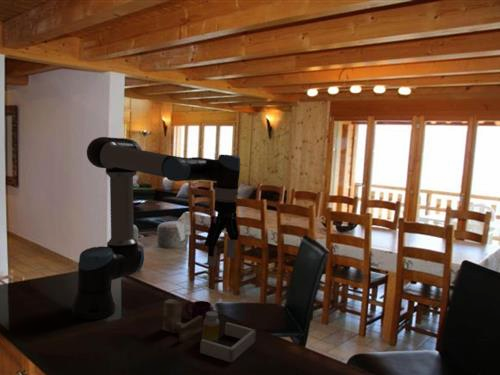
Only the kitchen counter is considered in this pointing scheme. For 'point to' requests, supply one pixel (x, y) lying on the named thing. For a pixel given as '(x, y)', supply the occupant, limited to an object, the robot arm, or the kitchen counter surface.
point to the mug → (199, 309)
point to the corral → (236, 350)
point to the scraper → (179, 321)
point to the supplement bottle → (211, 327)
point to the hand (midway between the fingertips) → (220, 261)
